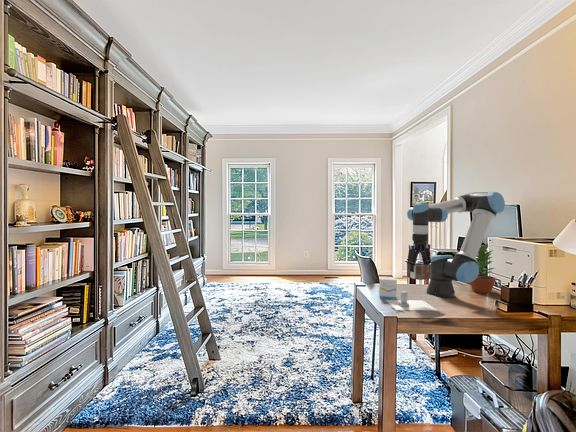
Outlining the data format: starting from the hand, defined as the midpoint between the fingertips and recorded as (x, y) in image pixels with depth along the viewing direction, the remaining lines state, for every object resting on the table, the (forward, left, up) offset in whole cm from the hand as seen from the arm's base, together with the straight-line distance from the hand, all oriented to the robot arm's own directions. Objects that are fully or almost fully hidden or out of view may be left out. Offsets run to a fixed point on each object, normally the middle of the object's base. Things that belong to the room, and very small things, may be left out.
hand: (418, 277), depth 182 cm
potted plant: (-52, -34, -14) cm, 64 cm away
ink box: (+13, -10, -14) cm, 22 cm away
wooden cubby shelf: (0, 0, 0) cm, 0 cm away
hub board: (+6, +5, -14) cm, 16 cm away
